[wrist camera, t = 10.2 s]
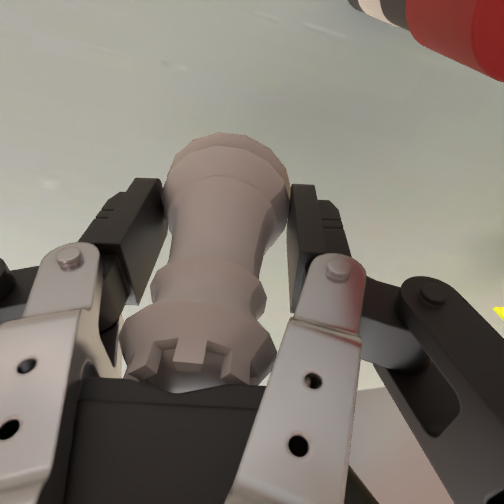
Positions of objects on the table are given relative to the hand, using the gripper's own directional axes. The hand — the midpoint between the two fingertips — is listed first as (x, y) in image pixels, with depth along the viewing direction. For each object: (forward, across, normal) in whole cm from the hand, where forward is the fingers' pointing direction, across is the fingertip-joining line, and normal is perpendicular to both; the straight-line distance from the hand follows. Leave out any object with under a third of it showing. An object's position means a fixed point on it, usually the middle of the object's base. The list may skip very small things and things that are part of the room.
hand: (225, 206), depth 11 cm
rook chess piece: (+1, 0, 0) cm, 1 cm away
